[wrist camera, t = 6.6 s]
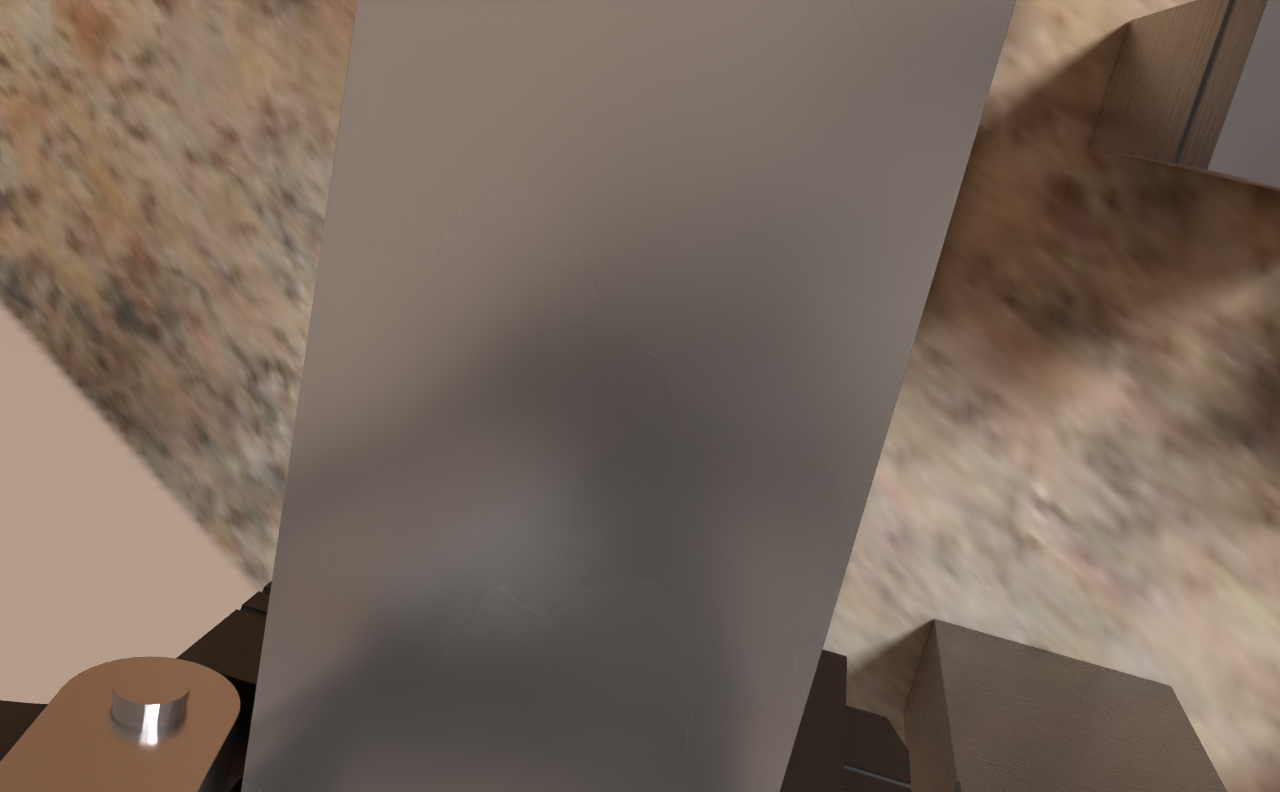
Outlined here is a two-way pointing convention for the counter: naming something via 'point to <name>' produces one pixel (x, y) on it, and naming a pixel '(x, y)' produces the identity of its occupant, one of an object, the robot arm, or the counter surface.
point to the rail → (601, 382)
